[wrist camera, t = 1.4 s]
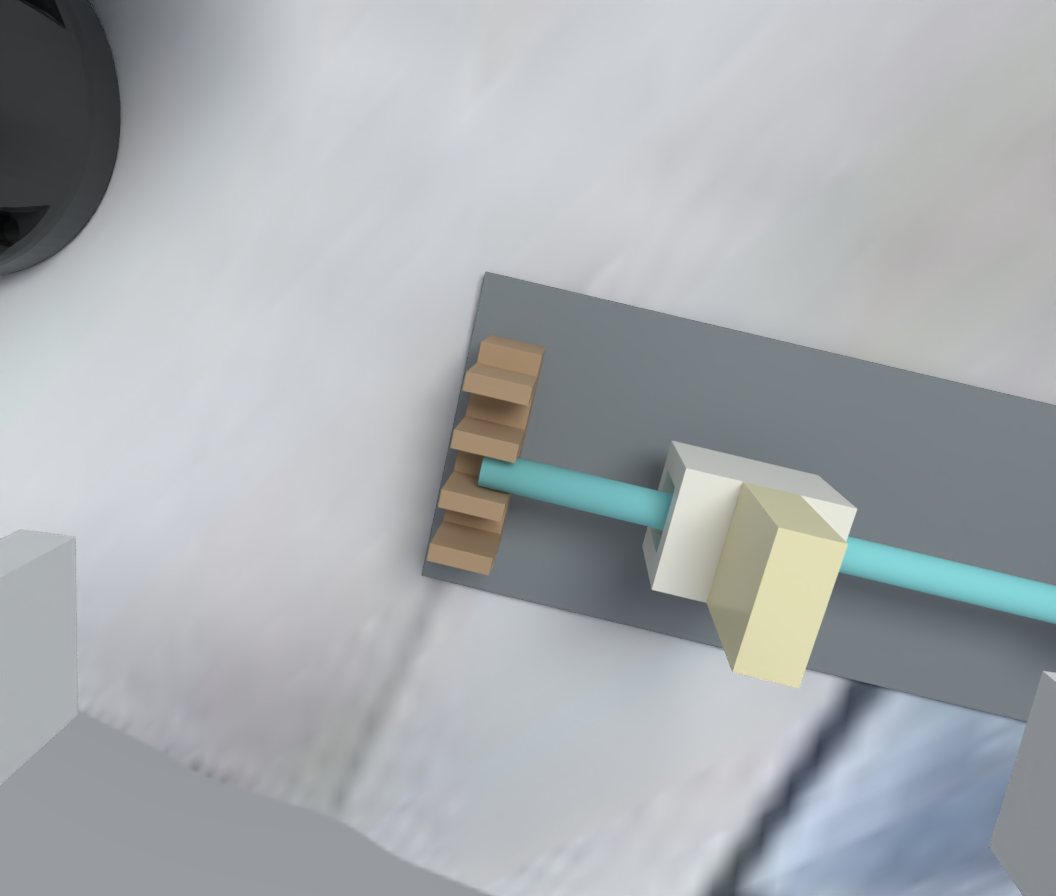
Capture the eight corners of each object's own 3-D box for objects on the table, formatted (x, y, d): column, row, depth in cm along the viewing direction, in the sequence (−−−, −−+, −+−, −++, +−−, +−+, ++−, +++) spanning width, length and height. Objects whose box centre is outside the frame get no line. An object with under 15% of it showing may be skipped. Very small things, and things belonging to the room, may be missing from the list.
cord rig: (424, 570, 37) (385, 642, 30) (487, 271, 34) (461, 271, 26) (1182, 753, 36) (1330, 872, 29) (1318, 467, 33) (1523, 521, 26)
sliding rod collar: (642, 546, 33) (666, 656, 23) (671, 440, 31) (709, 510, 22) (783, 580, 32) (865, 704, 23) (818, 475, 31) (917, 560, 22)
